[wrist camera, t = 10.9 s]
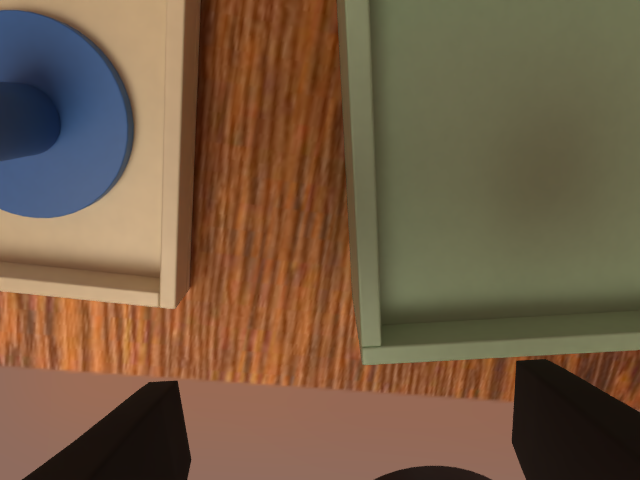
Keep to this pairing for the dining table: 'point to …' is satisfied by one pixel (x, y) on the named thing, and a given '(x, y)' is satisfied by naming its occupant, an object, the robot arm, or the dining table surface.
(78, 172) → the blue lid
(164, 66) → the tray
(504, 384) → the dining table surface
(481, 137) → the green square tray
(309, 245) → the dining table surface
